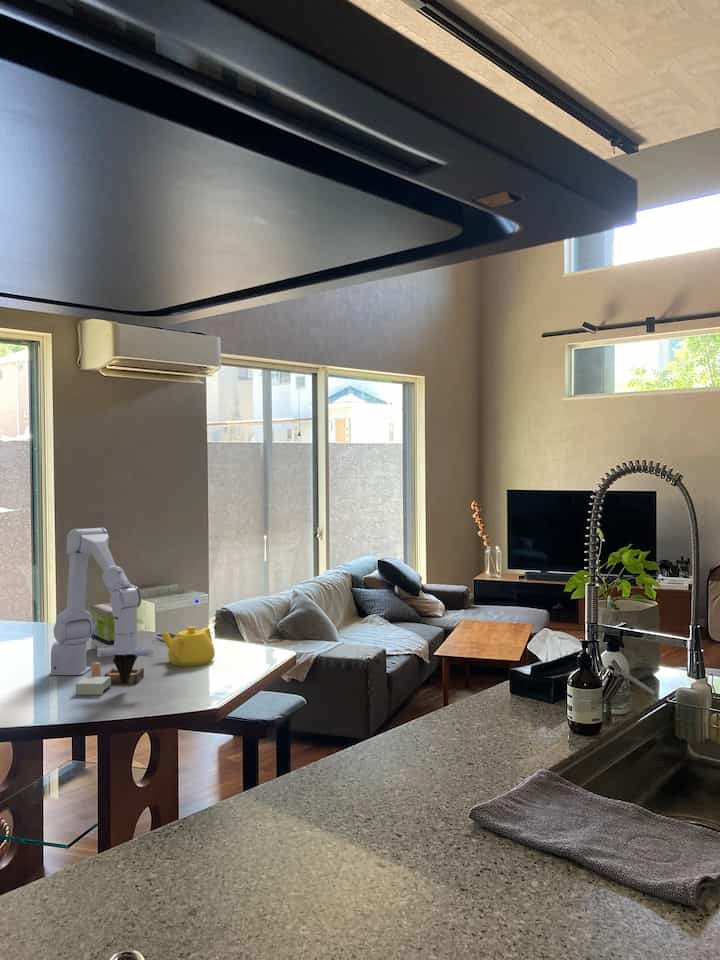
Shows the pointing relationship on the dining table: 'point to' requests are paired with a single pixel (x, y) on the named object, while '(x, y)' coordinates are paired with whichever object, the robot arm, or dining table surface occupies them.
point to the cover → (92, 685)
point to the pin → (96, 669)
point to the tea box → (102, 626)
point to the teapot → (190, 647)
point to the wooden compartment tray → (134, 678)
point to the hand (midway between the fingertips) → (125, 683)
